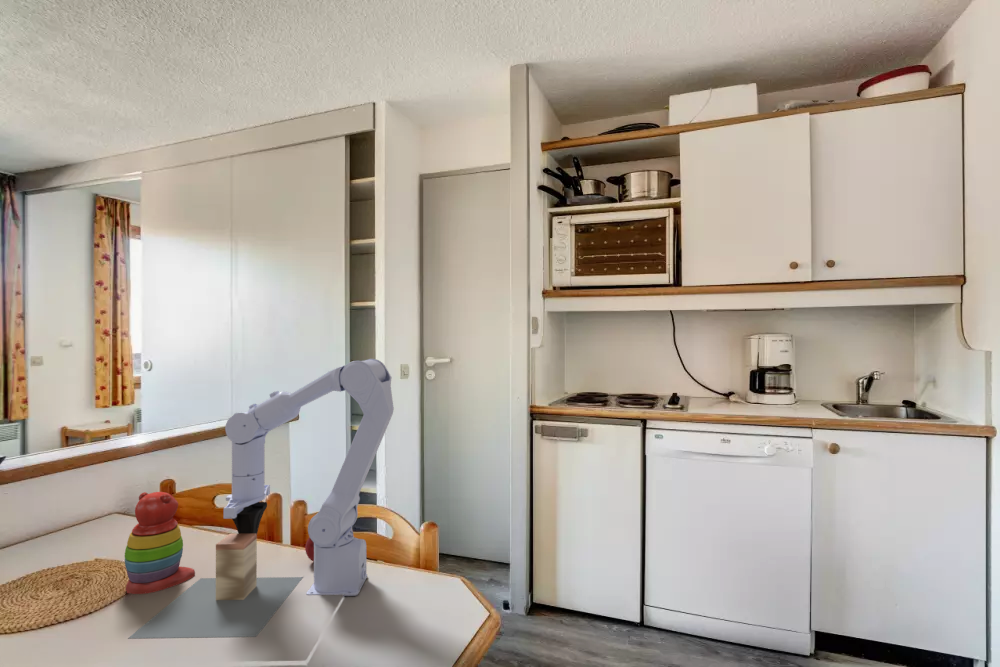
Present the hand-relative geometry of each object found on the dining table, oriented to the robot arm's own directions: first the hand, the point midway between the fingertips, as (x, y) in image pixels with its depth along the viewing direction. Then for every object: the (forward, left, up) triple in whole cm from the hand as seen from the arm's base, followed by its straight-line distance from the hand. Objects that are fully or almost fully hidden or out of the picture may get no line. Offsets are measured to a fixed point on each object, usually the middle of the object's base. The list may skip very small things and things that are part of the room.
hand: (248, 543), depth 98 cm
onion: (-11, -9, -8) cm, 16 cm away
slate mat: (0, +8, -8) cm, 12 cm away
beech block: (0, +4, -7) cm, 9 cm away
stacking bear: (+18, -1, -8) cm, 20 cm away
